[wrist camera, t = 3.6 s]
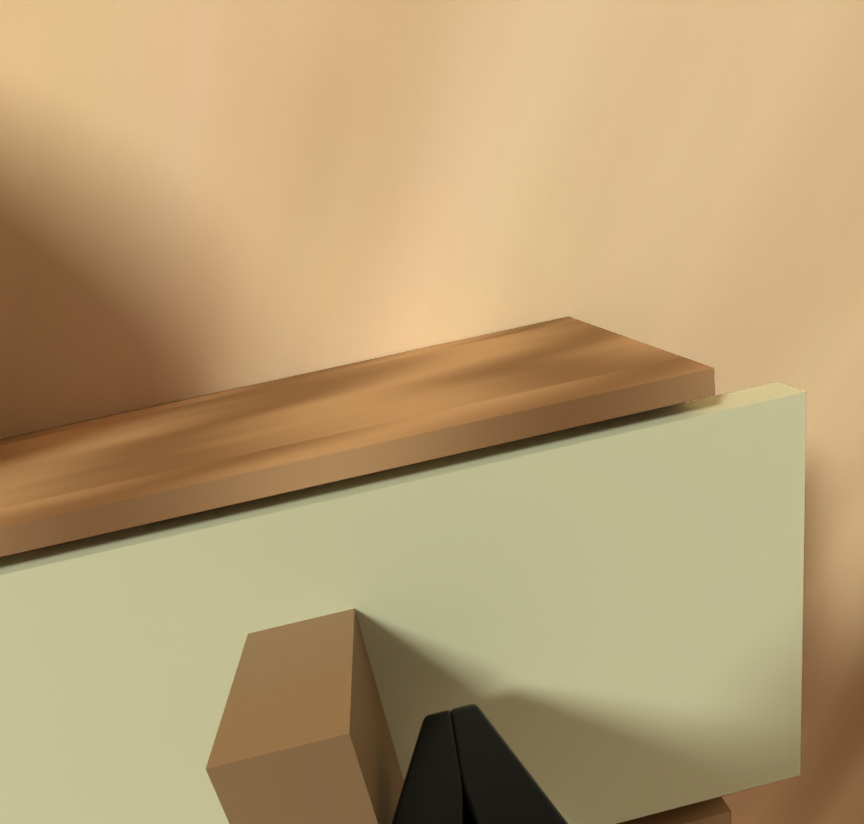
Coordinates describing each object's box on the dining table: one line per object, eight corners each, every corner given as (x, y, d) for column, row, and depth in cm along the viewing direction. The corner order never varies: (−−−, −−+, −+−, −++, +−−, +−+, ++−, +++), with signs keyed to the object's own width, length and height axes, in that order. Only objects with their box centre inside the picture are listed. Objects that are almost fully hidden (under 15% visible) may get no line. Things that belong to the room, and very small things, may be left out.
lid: (777, 381, 9) (964, 443, 6) (777, 747, 11) (911, 911, 8) (-219, 607, 8) (-522, 794, 5) (9, 946, 10) (-119, 1195, 7)
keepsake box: (568, 316, 13) (713, 367, 8) (604, 624, 16) (731, 826, 10) (-117, 464, 12) (-509, 641, 7) (46, 760, 15) (-141, 1057, 10)
